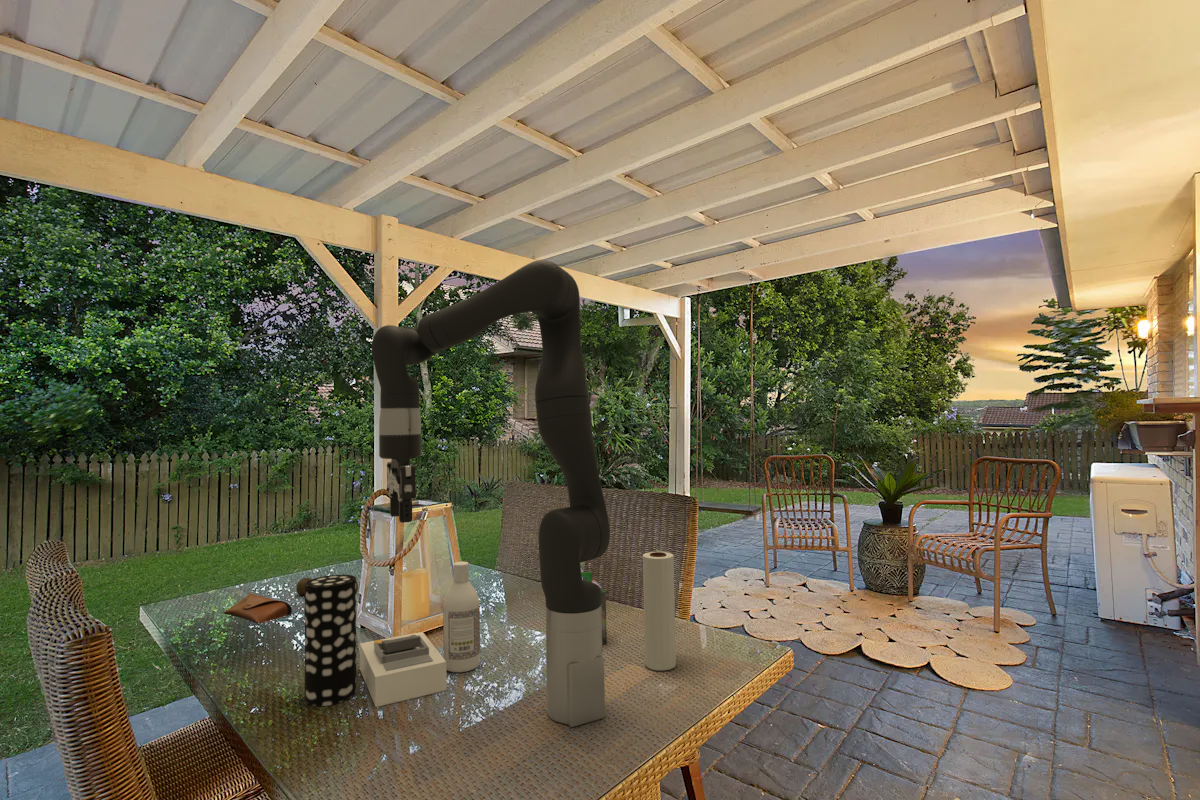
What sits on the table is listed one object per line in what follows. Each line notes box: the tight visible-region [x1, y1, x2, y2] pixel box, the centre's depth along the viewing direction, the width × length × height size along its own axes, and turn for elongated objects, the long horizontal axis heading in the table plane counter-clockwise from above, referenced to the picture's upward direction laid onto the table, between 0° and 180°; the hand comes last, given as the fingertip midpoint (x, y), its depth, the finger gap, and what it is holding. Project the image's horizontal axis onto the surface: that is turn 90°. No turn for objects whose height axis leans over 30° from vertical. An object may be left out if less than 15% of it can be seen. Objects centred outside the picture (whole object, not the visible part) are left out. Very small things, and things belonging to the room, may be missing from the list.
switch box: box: [359, 631, 448, 708], centre depth 112 cm, size 18×12×6 cm, turn 30°
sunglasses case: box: [222, 592, 293, 624], centre depth 153 cm, size 18×7×7 cm
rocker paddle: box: [382, 635, 421, 653], centre depth 112 cm, size 5×6×2 cm
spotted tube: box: [304, 574, 357, 707], centre depth 106 cm, size 8×8×20 cm
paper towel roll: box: [642, 549, 677, 672], centre depth 117 cm, size 7×6×21 cm
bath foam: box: [442, 561, 481, 673], centre depth 118 cm, size 7×7×20 cm
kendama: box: [296, 577, 359, 597], centre depth 165 cm, size 6×10×20 cm
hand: (400, 519), depth 113 cm, fingers open, 8 cm apart
